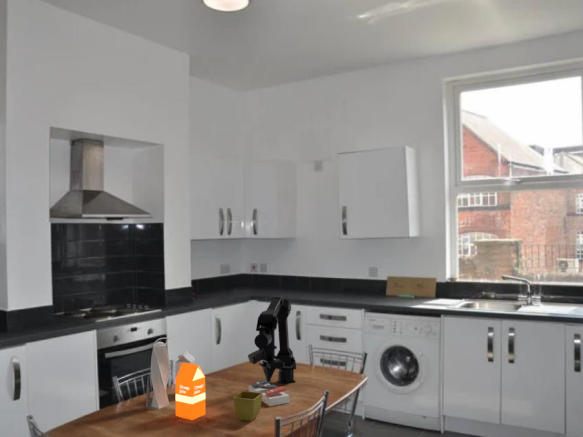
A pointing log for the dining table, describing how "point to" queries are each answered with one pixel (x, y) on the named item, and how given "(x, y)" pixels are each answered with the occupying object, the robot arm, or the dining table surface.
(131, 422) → the dining table surface
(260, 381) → the rocker near
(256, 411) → the flower pot
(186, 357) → the milk carton
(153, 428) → the dining table surface
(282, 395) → the power strip
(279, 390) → the rocker red
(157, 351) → the skyscraper
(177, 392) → the orange juice
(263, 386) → the rocker middle
